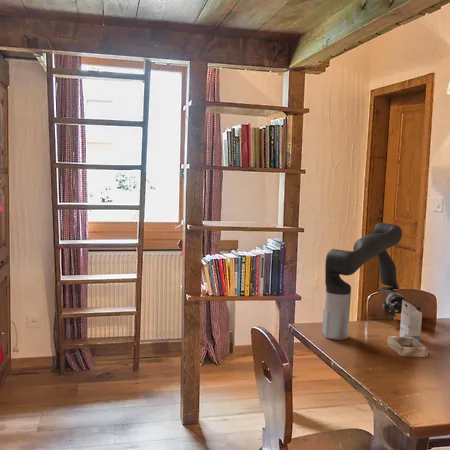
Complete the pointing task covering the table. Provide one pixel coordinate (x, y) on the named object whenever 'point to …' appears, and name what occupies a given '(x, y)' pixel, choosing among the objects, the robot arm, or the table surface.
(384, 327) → the table surface
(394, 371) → the table surface
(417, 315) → the ink box
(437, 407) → the table surface
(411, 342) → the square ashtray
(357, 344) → the table surface
